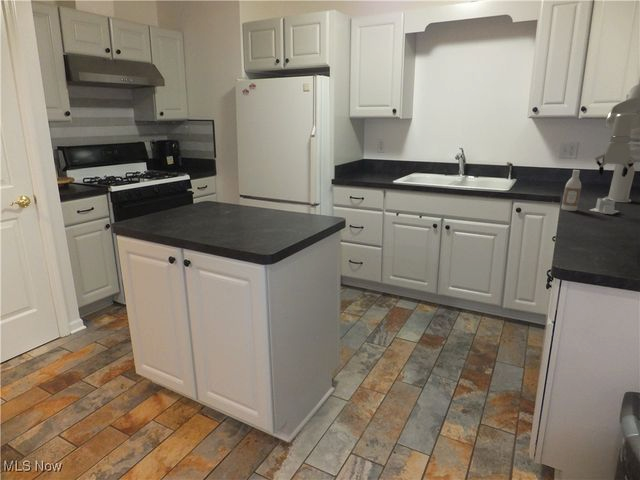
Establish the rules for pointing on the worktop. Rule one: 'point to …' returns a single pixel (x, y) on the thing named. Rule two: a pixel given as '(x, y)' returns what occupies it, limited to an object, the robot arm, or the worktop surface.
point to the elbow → (605, 206)
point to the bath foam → (572, 192)
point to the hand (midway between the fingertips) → (611, 175)
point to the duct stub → (600, 211)
